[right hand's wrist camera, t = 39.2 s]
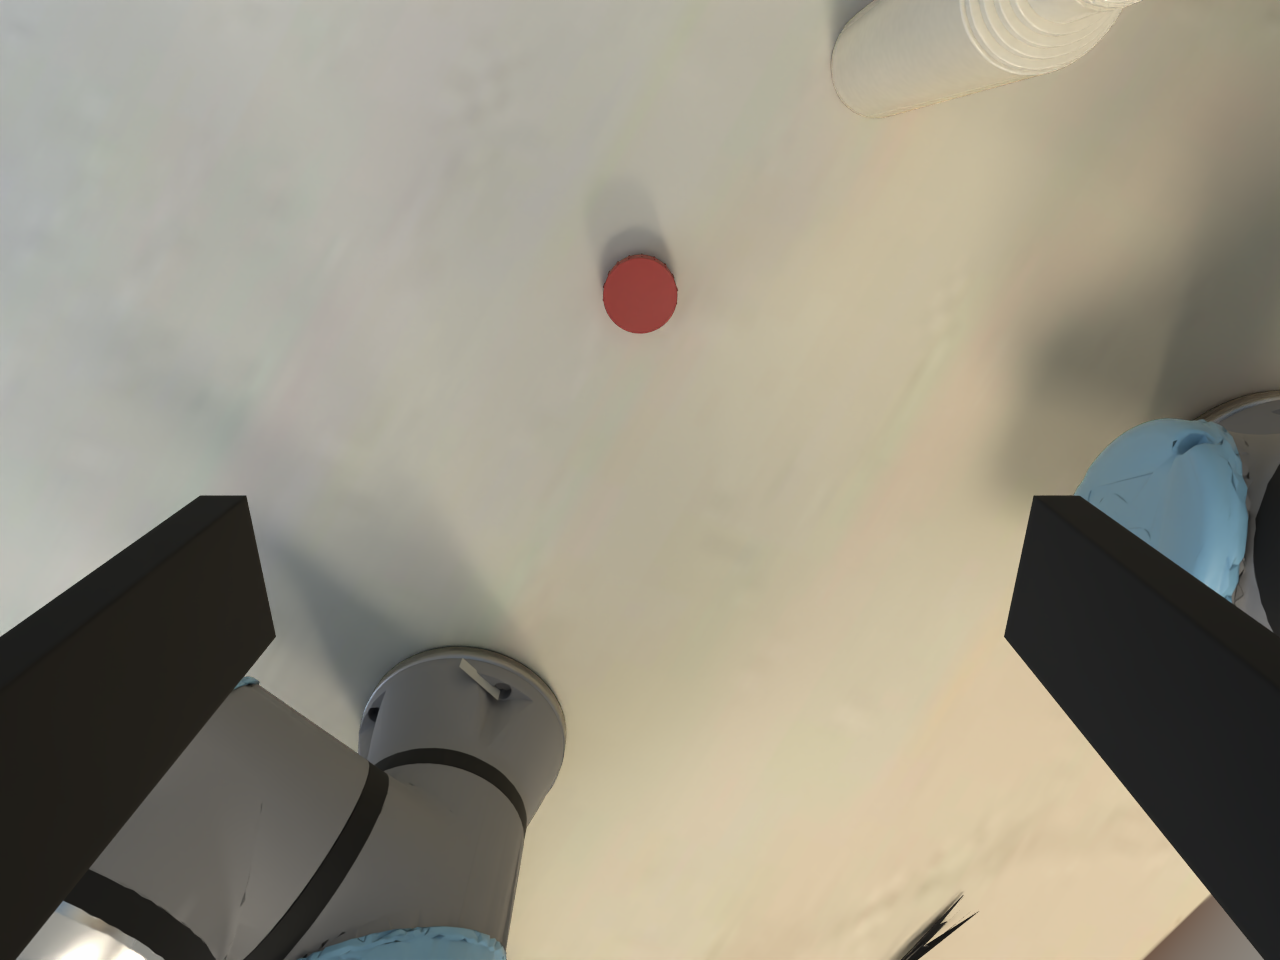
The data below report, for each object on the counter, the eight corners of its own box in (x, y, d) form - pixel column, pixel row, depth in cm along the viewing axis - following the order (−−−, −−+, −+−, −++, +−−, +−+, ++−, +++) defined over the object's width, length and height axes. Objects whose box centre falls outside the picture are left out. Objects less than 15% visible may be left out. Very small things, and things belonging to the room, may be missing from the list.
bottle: (811, 85, 41) (984, -16, 21) (869, -20, 40) (1123, -247, 19) (893, 138, 42) (1139, 92, 22) (954, 38, 41) (1286, -117, 20)
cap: (691, 288, 45) (693, 293, 43) (641, 342, 47) (642, 349, 44) (638, 237, 44) (638, 240, 42) (589, 293, 46) (586, 299, 43)
